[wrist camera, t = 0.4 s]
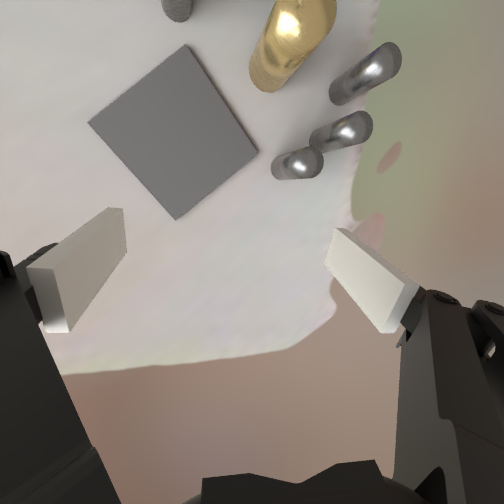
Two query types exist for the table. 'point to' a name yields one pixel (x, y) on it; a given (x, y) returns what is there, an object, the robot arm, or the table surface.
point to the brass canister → (289, 40)
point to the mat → (175, 133)
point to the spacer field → (341, 91)
